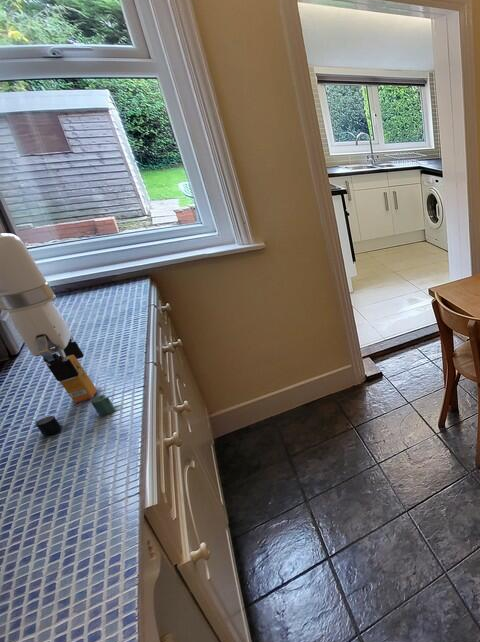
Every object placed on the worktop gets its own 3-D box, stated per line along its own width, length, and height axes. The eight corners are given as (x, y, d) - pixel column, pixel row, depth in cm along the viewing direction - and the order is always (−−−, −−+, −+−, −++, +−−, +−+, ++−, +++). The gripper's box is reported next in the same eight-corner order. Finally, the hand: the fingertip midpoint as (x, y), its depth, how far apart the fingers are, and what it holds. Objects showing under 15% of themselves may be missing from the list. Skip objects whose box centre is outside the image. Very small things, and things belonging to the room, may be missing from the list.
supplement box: (78, 395, 92) (55, 358, 88) (98, 390, 93) (76, 353, 89) (72, 404, 89) (47, 365, 85) (92, 398, 91) (69, 360, 86)
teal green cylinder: (95, 415, 85) (87, 402, 84) (108, 407, 88) (100, 394, 86) (105, 416, 85) (97, 403, 83) (118, 408, 87) (110, 395, 86)
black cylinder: (39, 436, 80) (31, 424, 79) (55, 427, 83) (47, 415, 81) (50, 437, 80) (42, 425, 78) (65, 428, 82) (57, 416, 81)
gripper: (8, 290, 85) (54, 359, 93) (-15, 317, 73) (40, 394, 80) (58, 279, 89) (98, 346, 97) (44, 304, 77) (91, 378, 85)
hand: (71, 368), depth 89 cm, fingers open, 9 cm apart
